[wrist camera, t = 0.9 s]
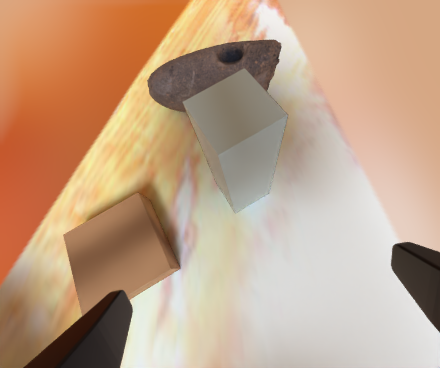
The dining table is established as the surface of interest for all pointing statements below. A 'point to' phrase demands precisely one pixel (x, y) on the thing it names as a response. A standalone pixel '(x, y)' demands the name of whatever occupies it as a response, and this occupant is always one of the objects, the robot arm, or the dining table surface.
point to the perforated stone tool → (212, 70)
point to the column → (238, 136)
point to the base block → (119, 252)
